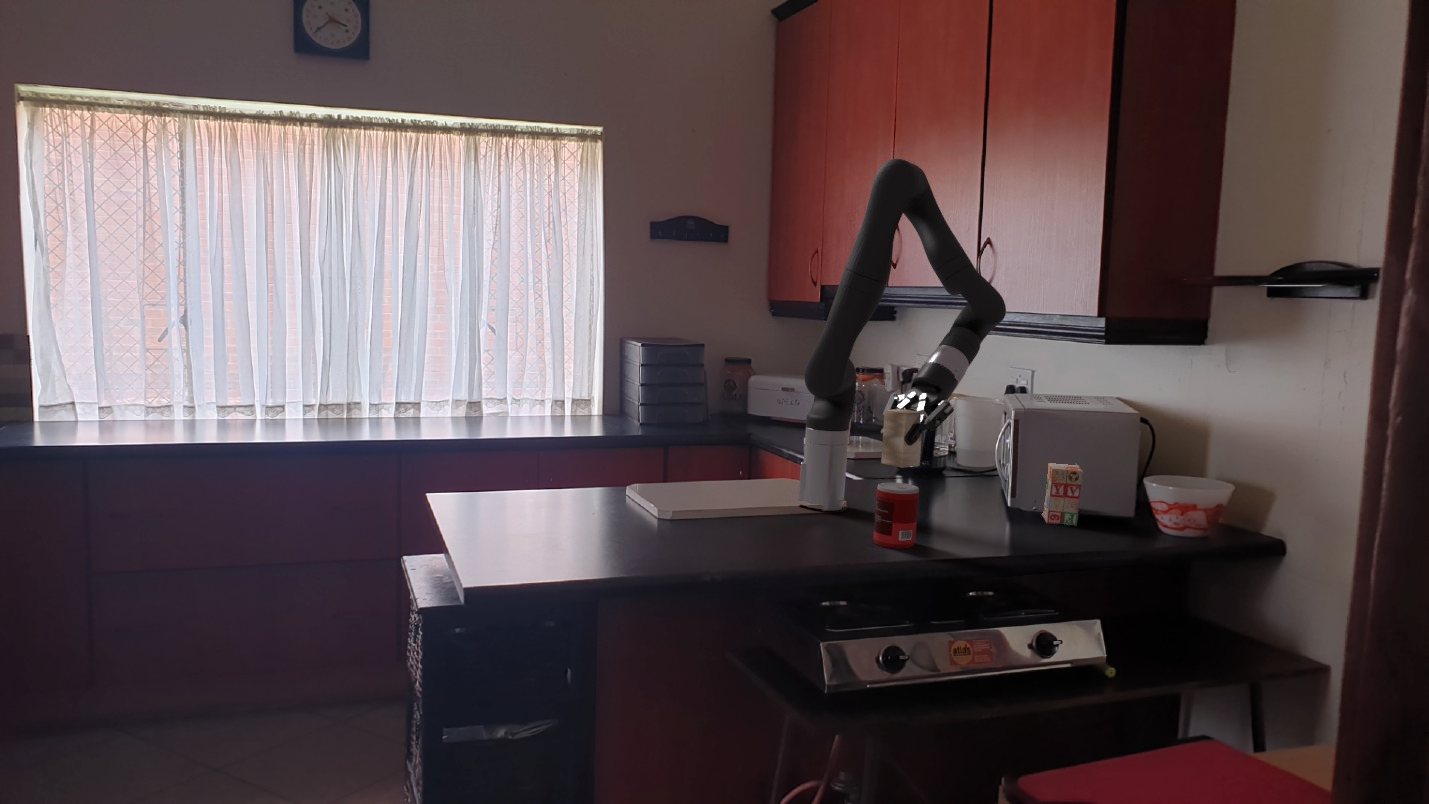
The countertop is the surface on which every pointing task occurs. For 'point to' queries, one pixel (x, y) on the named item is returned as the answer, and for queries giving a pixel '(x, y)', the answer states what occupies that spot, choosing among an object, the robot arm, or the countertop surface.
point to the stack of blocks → (1062, 494)
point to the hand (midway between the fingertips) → (895, 440)
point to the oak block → (899, 439)
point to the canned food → (896, 515)
